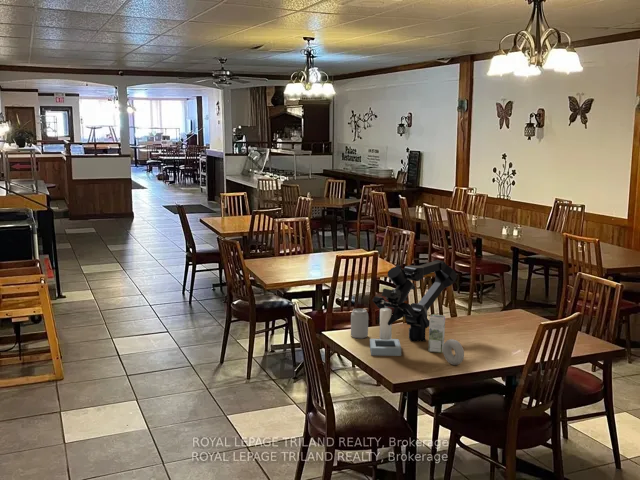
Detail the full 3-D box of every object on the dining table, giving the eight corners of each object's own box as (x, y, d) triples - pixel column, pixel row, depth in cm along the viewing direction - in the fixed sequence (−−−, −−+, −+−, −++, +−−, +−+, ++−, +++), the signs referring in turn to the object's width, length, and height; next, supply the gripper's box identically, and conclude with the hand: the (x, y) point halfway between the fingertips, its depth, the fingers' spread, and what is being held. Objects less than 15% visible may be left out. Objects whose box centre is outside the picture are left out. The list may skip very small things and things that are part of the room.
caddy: (398, 345, 265) (398, 339, 265) (401, 355, 253) (401, 348, 253) (369, 345, 266) (369, 338, 265) (371, 355, 254) (371, 348, 253)
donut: (440, 361, 247) (441, 336, 246) (447, 359, 249) (447, 335, 247) (459, 369, 239) (460, 343, 237) (465, 367, 241) (466, 342, 239)
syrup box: (444, 349, 262) (445, 314, 259) (442, 353, 256) (443, 318, 254) (430, 347, 264) (431, 313, 261) (428, 351, 258) (429, 317, 256)
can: (368, 334, 281) (368, 308, 279) (367, 339, 274) (368, 312, 272) (351, 333, 282) (351, 307, 280) (350, 339, 274) (350, 312, 272)
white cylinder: (392, 337, 260) (393, 308, 258) (389, 340, 256) (390, 311, 254) (381, 335, 262) (382, 307, 260) (378, 339, 257) (378, 310, 255)
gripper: (375, 277, 264) (357, 307, 259) (410, 284, 251) (392, 317, 245) (387, 292, 271) (370, 322, 265) (422, 300, 257) (404, 332, 252)
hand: (383, 323), depth 257 cm, fingers closed on white cylinder, 5 cm apart
